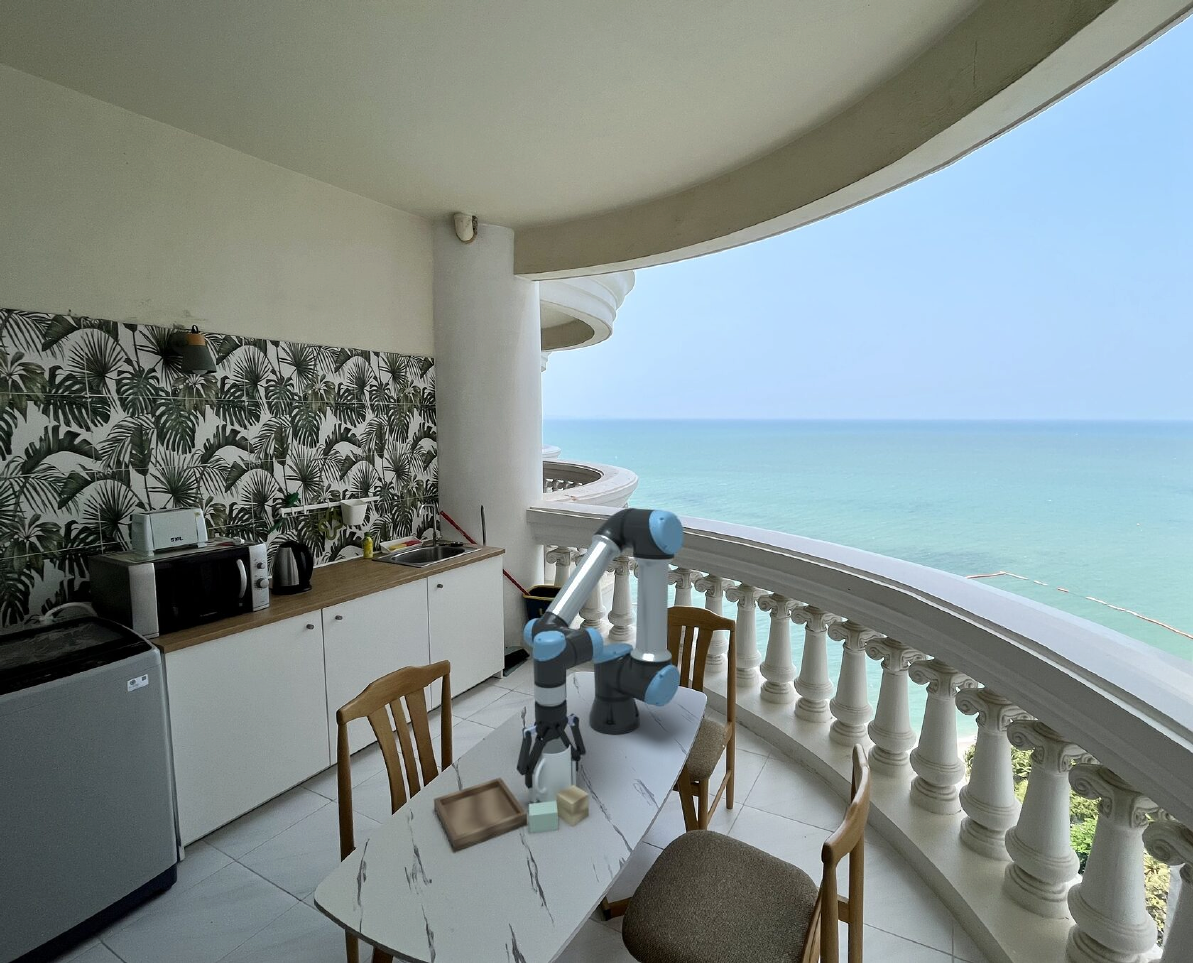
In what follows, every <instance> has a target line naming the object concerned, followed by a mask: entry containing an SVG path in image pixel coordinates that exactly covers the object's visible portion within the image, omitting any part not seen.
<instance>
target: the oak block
mask: <svg viewBox="0 0 1193 963" xmlns="http://www.w3.org/2000/svg"><path fill="white" fill-rule="evenodd" d="M589 810H590V808H589V793H587V792H586V791H584V790H583V789H581V788H579V787H578V786H577V785H576V786H574V785H572V786H570V787H568V788H567V789H565V790H563V791H562V792H560V793H558V794H557V811H558V819H559V818H560V819H561V820H562V821H564V822H566V823H567V824H568V825H570V826H571V827H574V826H575V825H576V824H578V823H579V822H581V821H582V820H584V819H585V818H587V817H588V816H589Z"/></svg>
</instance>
